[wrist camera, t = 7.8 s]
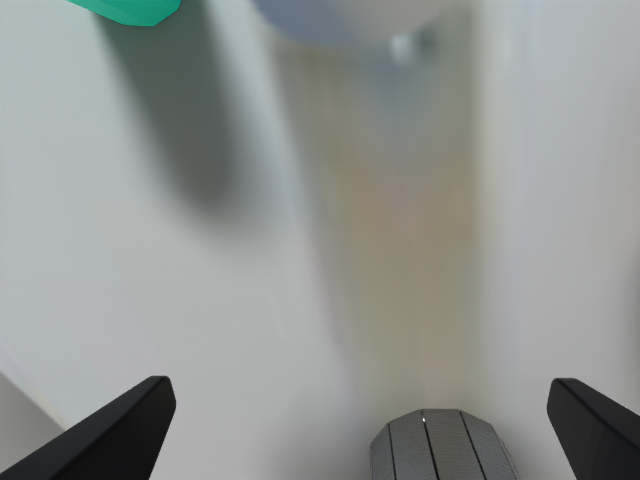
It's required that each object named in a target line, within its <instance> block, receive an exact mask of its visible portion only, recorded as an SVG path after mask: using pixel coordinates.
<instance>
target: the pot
mask: <svg viewBox="0 0 640 480" xmlns="http://www.w3.org/2000/svg"><path fill="white" fill-rule="evenodd" d="M370 452H371V480H522V479H521V477H520V475H519V473H518V471H517V469H516V467H515V465H514V463H513V460H512V458H511V456H510V454H509V452H508V450H507V448H506V446H505V445H504V443H503V442H502V440H501V439H500V437H499V436H498V434H497V432H496V431H495V429H494V428H493V426H491V424H489V423H487V422H484V421H482V420H480V419H478V418H476V417H474V416H472V415H469V414H467V413H465V412H463V411H460V412H459V410H442V409H422V411H421V410H417V411H415V412H412V413H410V414H408V415H405V416H403V417H400V418H398V419H395V420H393V421H390V422H389V423H387V424H386V426H385V427H384V428H383V429H382V431H381V432H380V433H379V434H378V436H377V437H376V438H375V439H374V441H373V442H372V443H371V445H370Z"/></svg>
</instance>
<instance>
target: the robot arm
mask: <svg viewBox="0 0 640 480" xmlns="http://www.w3.org/2000/svg"><path fill="white" fill-rule="evenodd" d="M175 409H176V399H175V395H174V391H173V388H172V384H171V381H170V378H169V377H168V376H150V377H149V378H147V379H145V380H144V381H142V382H141V383H139V384H138V385H136V386H135V387H133V388H132V389H130V390H128V391H127V392H125V393H124V394H122V395H121V396H119V397H118V398H116V399H115V400H113V401H111V402H110V403H108V404H107V405H105V406H104V407H102V408H101V409H99V410H98V411H96V412H94V413H93V414H91V415H90V416H88V417H87V418H85V419H84V420H82V421H81V422H79V423H77V424H76V425H74V426H73V427H71V428H70V429H68V430H67V431H65V432H64V433H62V434H61V435H59V436H57V437H56V438H54V439H53V440H51V441H50V442H48V443H47V444H45V445H44V446H42V447H41V448H39V449H38V450H36V451H34V452H33V453H31V454H30V455H28V456H27V457H25V458H24V459H22V460H20V461H19V462H17V463H16V464H14V465H13V466H11V467H10V468H8V469H6V470H5V471H3V472H2V473H0V480H149V478H150V475H151V473H152V470H153V468H154V466H155V463H156V460H157V458H158V455H159V452H160V450H161V447H162V444H163V442H164V439H165V437H166V434H167V431H168V429H169V426H170V423H171V421H172V418H173V415H174V413H175ZM547 413H548V417H549V419H550V422H551V424H552V426H553V428H554V430H555V433H556V435H557V437H558V439H559V441H560V444H561V446H562V448H563V450H564V452H565V455H566V457H567V459H568V461H569V463H570V466H571V468H572V470H573V472H574V474H575V477H576V479H577V480H640V416H639V415H637V414H635V413H634V412H632V411H630V410H629V409H627V408H625V407H624V406H622V405H620V404H618V403H617V402H615V401H613V400H612V399H610V398H608V397H607V396H605V395H603V394H601V393H600V392H598V391H596V390H595V389H593V388H591V387H590V386H588V385H586V384H584V383H583V382H581V381H579V380H577V379H575V378H555V379H554V380H553V381H552V383H551V388H550V392H549V397H548V402H547Z"/></svg>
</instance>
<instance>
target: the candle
mask: <svg viewBox="0 0 640 480" xmlns="http://www.w3.org/2000/svg"><path fill="white" fill-rule="evenodd" d="M67 1H69V2H72V3H74V4H76V5H79V6H81V7H83V8H86V9H88V10H90V11H93V12H95V13H98V14H100V15H102V16H105V17H107V18H109V19H112V20H114V21H116V22H119V23H121V24H123V25H135V26H155V25H156V24H158V23H159V22H161V21H162V20H164V19H165V18H167V17H168V16H170V15H171V14H172V13H174V12H175V11H177V10H178V8H179V6H180V3H181V1H182V0H67Z"/></svg>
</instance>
